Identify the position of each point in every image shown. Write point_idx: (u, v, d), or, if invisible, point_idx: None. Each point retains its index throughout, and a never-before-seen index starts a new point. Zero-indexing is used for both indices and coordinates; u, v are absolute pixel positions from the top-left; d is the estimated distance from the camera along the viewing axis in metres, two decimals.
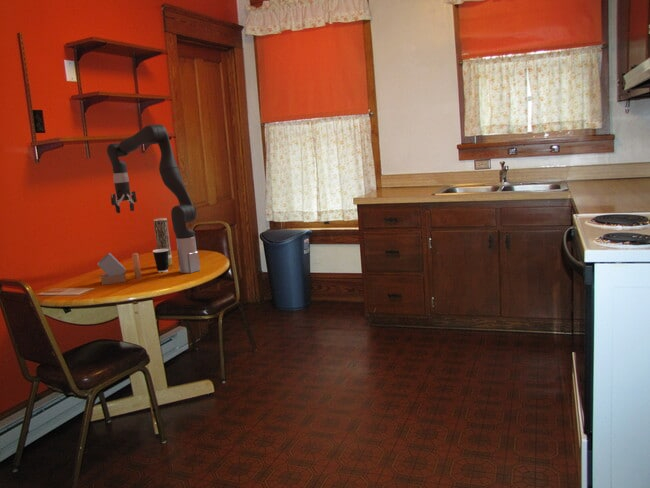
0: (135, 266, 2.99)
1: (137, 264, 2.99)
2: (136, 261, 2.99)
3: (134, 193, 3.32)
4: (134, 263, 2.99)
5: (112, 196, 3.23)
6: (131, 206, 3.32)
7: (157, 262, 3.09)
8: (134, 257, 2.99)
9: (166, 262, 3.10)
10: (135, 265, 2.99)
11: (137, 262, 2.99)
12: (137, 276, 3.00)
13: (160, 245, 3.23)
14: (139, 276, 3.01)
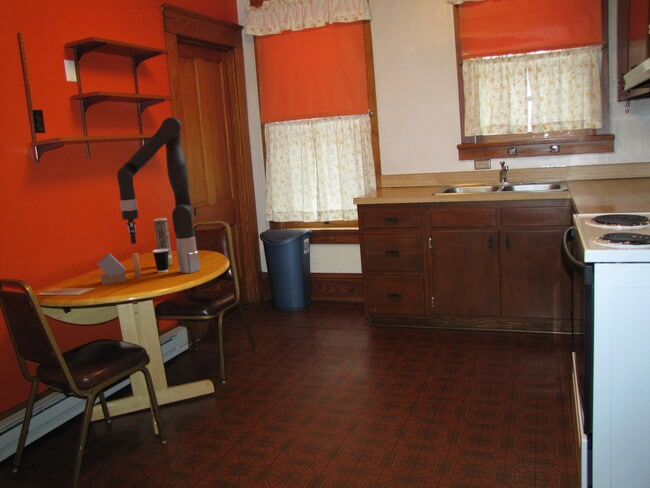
0: (135, 266, 2.99)
1: (137, 264, 2.99)
2: (136, 261, 2.99)
3: (129, 225, 2.91)
4: (134, 263, 2.99)
5: None
6: None
7: (157, 262, 3.09)
8: (134, 257, 2.99)
9: (166, 262, 3.10)
10: (135, 265, 2.99)
11: (137, 262, 2.99)
12: (137, 276, 3.00)
13: (160, 245, 3.23)
14: (139, 276, 3.01)
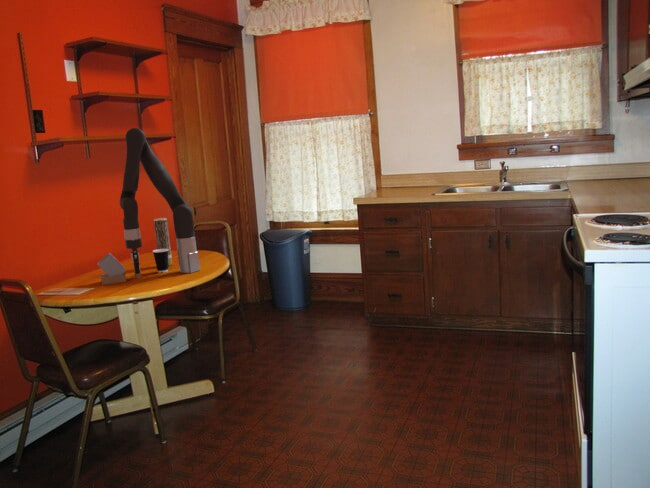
0: None
1: None
2: None
3: (133, 257, 2.94)
4: None
5: None
6: None
7: (157, 262, 3.09)
8: None
9: (166, 262, 3.10)
10: None
11: (137, 262, 2.99)
12: (137, 276, 3.00)
13: (160, 245, 3.23)
14: (139, 276, 3.01)
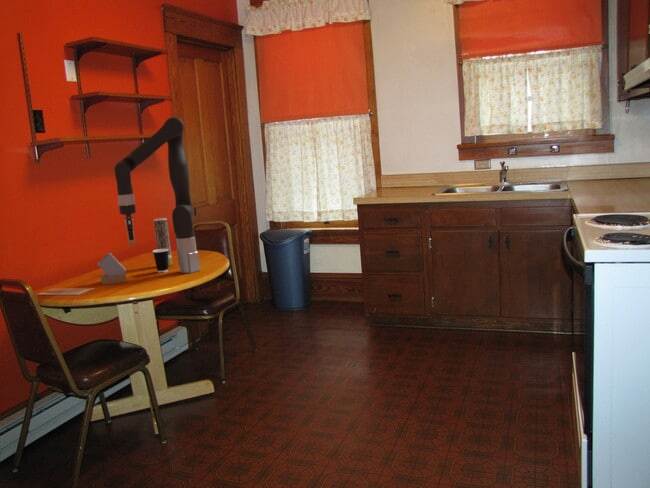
0: None
1: None
2: (130, 228, 2.96)
3: (126, 223, 2.91)
4: None
5: None
6: None
7: (157, 262, 3.09)
8: None
9: (166, 262, 3.10)
10: None
11: (131, 228, 2.96)
12: (131, 243, 2.97)
13: (160, 245, 3.23)
14: (133, 243, 2.98)
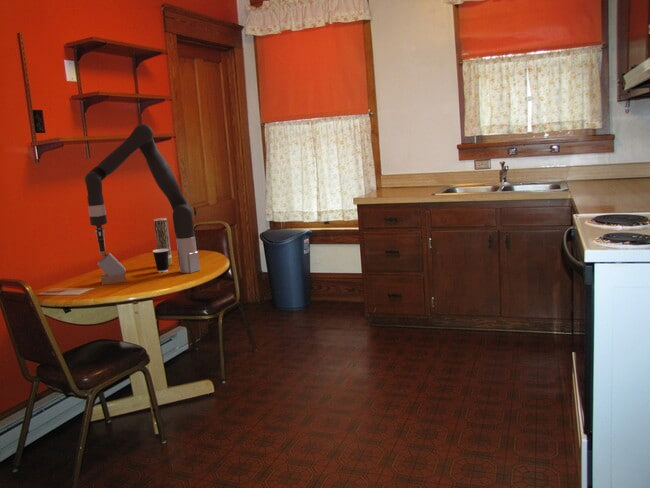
0: None
1: None
2: (101, 239, 2.92)
3: (97, 234, 2.87)
4: None
5: None
6: None
7: (157, 262, 3.09)
8: None
9: (166, 262, 3.10)
10: None
11: None
12: (102, 254, 2.93)
13: (160, 245, 3.23)
14: (104, 254, 2.93)
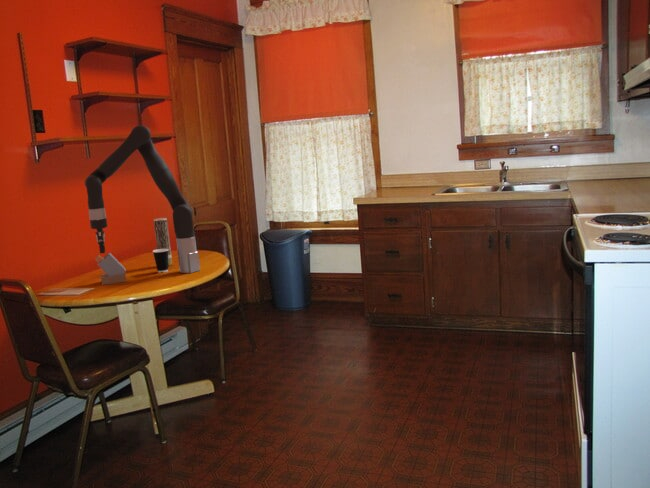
0: None
1: None
2: None
3: (97, 234, 2.86)
4: None
5: None
6: None
7: (157, 262, 3.09)
8: (98, 260, 2.93)
9: (166, 262, 3.10)
10: None
11: None
12: None
13: (160, 245, 3.23)
14: None
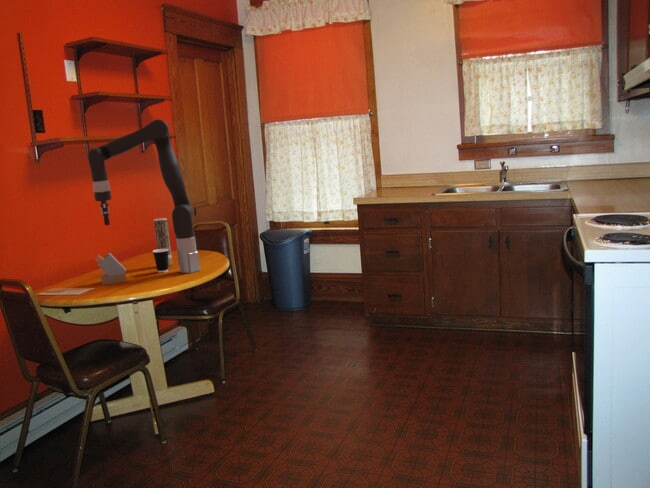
0: None
1: None
2: None
3: (101, 206, 2.89)
4: None
5: None
6: None
7: (157, 262, 3.09)
8: (98, 260, 2.93)
9: (166, 262, 3.10)
10: None
11: None
12: None
13: (160, 245, 3.23)
14: None
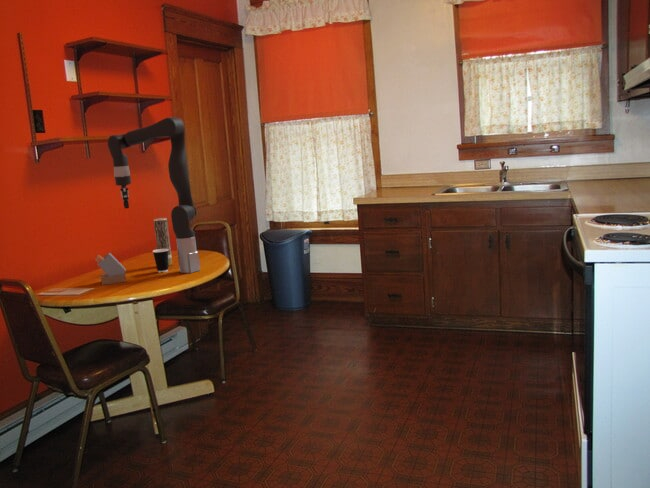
0: None
1: None
2: None
3: (122, 190, 3.05)
4: None
5: None
6: None
7: (157, 262, 3.09)
8: (98, 260, 2.93)
9: (166, 262, 3.10)
10: None
11: None
12: None
13: (160, 245, 3.23)
14: None
